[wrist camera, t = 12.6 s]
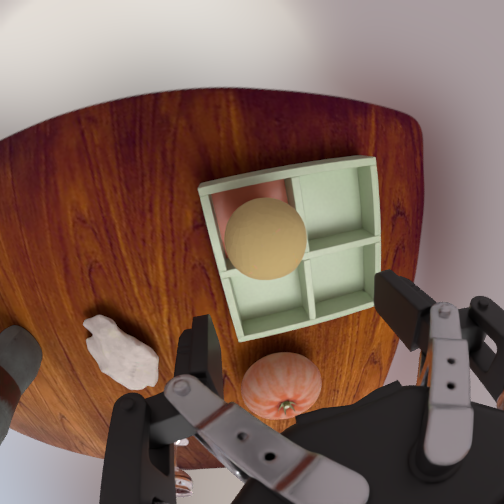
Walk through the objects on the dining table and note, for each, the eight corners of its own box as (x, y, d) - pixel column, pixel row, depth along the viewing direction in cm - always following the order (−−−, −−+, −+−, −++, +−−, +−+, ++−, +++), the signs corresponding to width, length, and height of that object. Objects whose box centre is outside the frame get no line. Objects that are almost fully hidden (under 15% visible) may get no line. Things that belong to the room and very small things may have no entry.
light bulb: (224, 248, 29) (228, 297, 20) (221, 187, 26) (222, 209, 17) (284, 245, 29) (314, 290, 20) (285, 185, 27) (320, 205, 18)
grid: (200, 183, 27) (197, 188, 23) (359, 154, 27) (375, 156, 24) (236, 324, 33) (238, 342, 30) (366, 290, 34) (379, 304, 31)
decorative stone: (75, 305, 30) (113, 377, 37) (61, 323, 27) (106, 395, 34) (144, 308, 30) (174, 385, 37) (133, 331, 26) (169, 405, 33)
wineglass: (165, 429, 41) (160, 483, 30) (198, 438, 43) (199, 491, 32) (154, 442, 43) (150, 491, 31) (185, 450, 44) (185, 498, 33)
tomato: (234, 391, 38) (239, 433, 31) (243, 338, 34) (250, 383, 27) (302, 389, 40) (315, 428, 32) (321, 339, 36) (341, 379, 29)
